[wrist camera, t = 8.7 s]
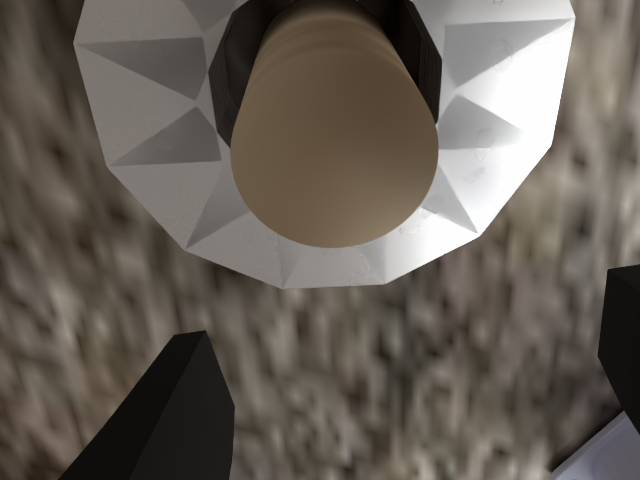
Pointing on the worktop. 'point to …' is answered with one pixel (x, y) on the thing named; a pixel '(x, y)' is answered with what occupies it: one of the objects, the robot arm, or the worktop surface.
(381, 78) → the tan cylinder
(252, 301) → the worktop surface
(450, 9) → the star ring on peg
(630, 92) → the worktop surface
